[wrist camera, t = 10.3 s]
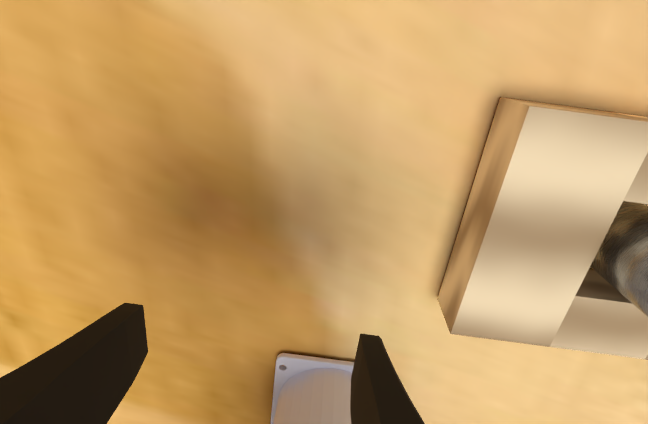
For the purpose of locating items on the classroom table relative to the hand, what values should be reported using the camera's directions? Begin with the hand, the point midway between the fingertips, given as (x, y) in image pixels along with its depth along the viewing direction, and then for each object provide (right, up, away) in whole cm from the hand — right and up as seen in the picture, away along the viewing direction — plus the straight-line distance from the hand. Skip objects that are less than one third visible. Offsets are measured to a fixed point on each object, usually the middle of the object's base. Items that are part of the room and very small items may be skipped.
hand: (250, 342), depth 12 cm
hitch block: (+18, +3, +8) cm, 20 cm away
